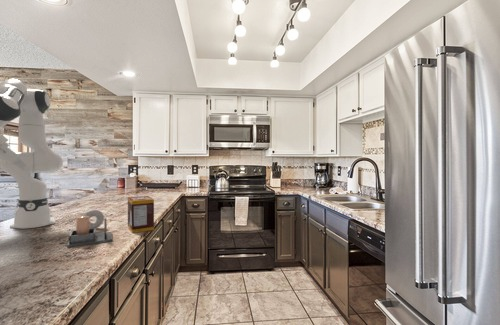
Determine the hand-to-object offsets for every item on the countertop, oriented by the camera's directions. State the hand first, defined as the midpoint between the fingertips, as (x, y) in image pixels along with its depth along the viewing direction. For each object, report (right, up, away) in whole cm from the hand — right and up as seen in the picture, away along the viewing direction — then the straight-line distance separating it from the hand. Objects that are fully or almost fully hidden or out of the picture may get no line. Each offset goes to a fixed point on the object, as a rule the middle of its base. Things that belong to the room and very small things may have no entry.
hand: (27, 169), depth 106 cm
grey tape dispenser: (+21, -31, +8) cm, 39 cm away
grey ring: (+11, -31, +26) cm, 42 cm away
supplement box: (+34, -31, +29) cm, 55 cm away
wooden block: (+18, -30, +7) cm, 36 cm away
